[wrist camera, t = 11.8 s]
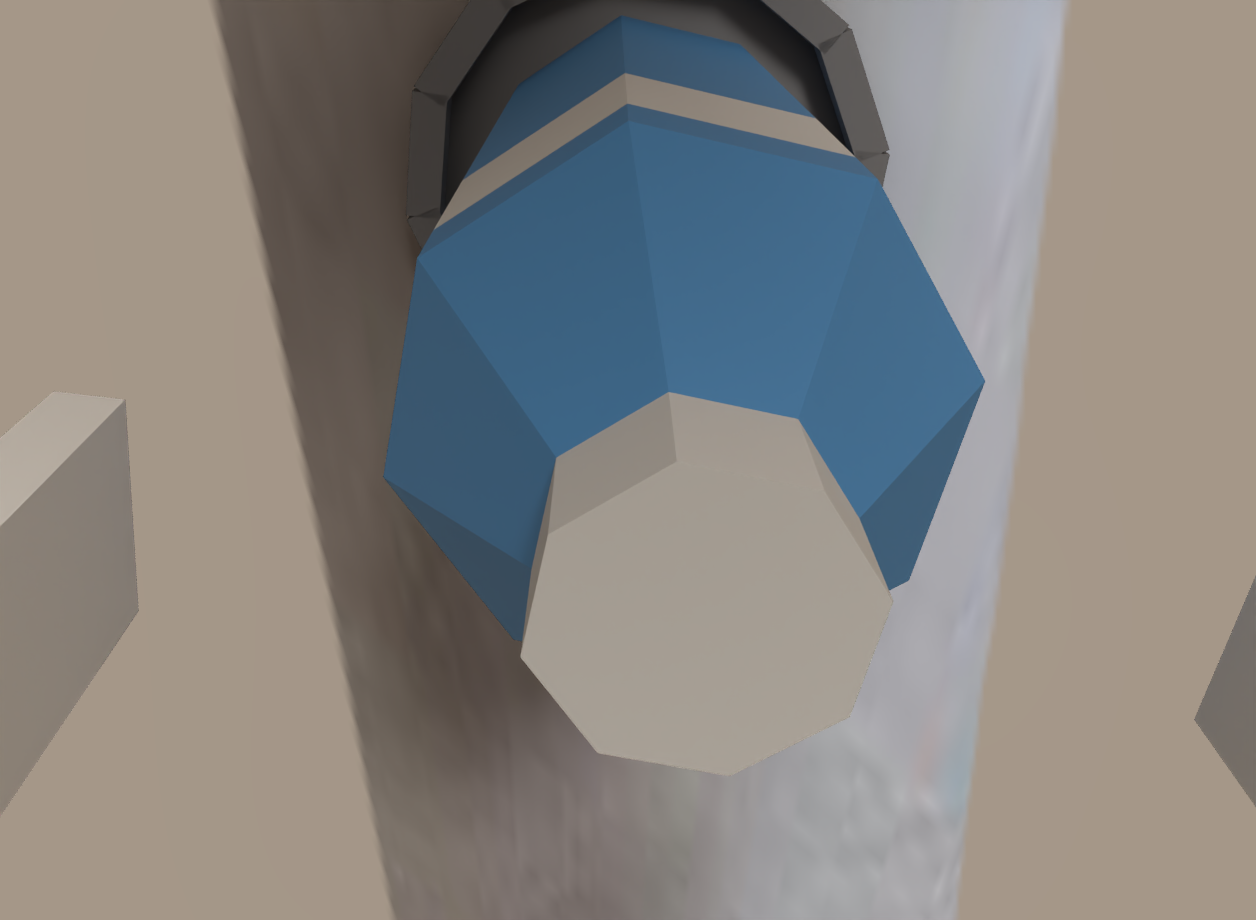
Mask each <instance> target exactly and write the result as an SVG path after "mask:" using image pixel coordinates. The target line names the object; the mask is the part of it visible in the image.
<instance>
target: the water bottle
mask: <svg viewBox="0 0 1256 920" xmlns="http://www.w3.org/2000/svg"><path fill="white" fill-rule="evenodd" d="M984 383H985V380H984V378H983V376H982V374H981V372H980V370H979V369H978V367H977V365H976V363H975V361H974V359H973V357H972V355H971V353H970V352H969V350H968V348H967V346H966V344H965V342H964V340H963V338H962V337H961V335H960V333H959V331H958V329H957V327H956V325H955V323H954V321H953V320H952V318H951V316H950V314H949V312H948V310H947V308H946V306H945V305H944V303H943V301H942V299H941V297H940V295H939V293H938V291H937V290H936V288H935V286H934V284H933V282H932V280H931V278H930V276H929V274H928V273H927V271H926V269H925V267H924V265H923V263H922V261H921V259H920V258H919V256H918V254H917V252H916V250H915V248H914V246H913V244H912V242H911V241H910V239H909V237H908V235H907V233H906V231H905V229H904V227H903V226H902V224H901V222H900V220H899V218H898V216H897V214H896V212H895V210H894V209H893V207H892V205H891V203H890V201H889V199H888V197H887V195H886V194H885V192H884V190H883V188H882V186H881V184H880V182H879V180H878V179H877V178H876V177H875V176H874V175H873V174H872V173H871V172H870V171H869V170H868V169H867V168H866V167H865V166H864V165H863V164H862V163H861V162H860V161H859V160H858V159H857V158H856V157H855V156H854V155H853V154H852V153H851V152H850V151H849V150H848V149H847V148H846V147H845V146H844V145H843V144H842V143H840V142H839V141H838V140H837V139H836V138H835V137H834V136H833V135H832V134H831V133H830V132H829V131H828V130H827V129H826V128H825V127H824V126H823V125H822V124H821V123H820V122H819V121H818V120H817V119H816V118H815V117H814V116H813V115H812V114H811V113H810V112H809V111H808V110H807V109H806V108H805V107H804V106H803V105H802V104H801V103H800V102H799V101H798V100H797V99H796V98H795V97H794V96H793V95H791V94H790V93H789V92H788V91H787V90H786V89H785V88H784V87H783V86H782V85H781V84H780V83H779V82H778V81H777V80H776V79H775V78H774V77H773V76H772V75H771V74H770V73H769V72H768V71H767V70H766V69H765V68H764V67H763V66H762V65H761V64H760V63H759V62H758V61H757V60H756V59H755V58H754V57H753V56H752V55H751V54H750V53H749V52H748V51H747V50H746V49H745V48H744V47H742V46H741V45H740V44H737V43H733V42H729V41H725V40H721V39H717V38H713V37H708V36H704V35H700V34H696V33H692V32H688V31H684V30H680V29H676V28H671V27H667V26H663V25H659V24H655V23H651V22H647V21H643V20H638V19H634V18H630V17H626V16H622V15H621V16H619V17H618V18H616V19H615V20H613V21H612V22H610V23H609V24H607V25H606V26H604V27H603V28H601V29H600V30H598V31H597V32H595V33H594V34H592V35H591V36H589V37H588V38H586V39H585V40H583V41H582V42H580V43H579V44H577V45H576V46H574V47H573V48H572V49H570V50H569V51H567V52H566V53H564V54H563V55H561V56H560V57H558V58H557V59H555V60H554V61H552V62H551V63H549V64H548V65H546V66H545V67H543V68H542V69H540V70H539V71H537V72H536V73H534V74H533V75H531V76H530V77H528V78H527V79H525V80H524V81H523V82H521V83H520V84H519V85H518V86H517V88H516V90H515V91H514V93H513V95H512V97H511V98H510V100H509V102H508V103H507V105H506V107H505V108H504V110H503V112H502V114H501V115H500V117H499V119H498V120H497V122H496V124H495V126H494V127H493V129H492V131H491V132H490V134H489V136H488V138H487V139H486V141H485V143H484V144H483V146H482V148H481V150H480V151H479V153H478V155H477V156H476V158H475V160H474V162H473V163H472V165H471V167H470V168H469V170H468V172H467V174H466V175H465V177H464V179H463V180H462V182H461V184H460V186H459V187H458V189H457V191H456V192H455V194H454V196H453V198H452V199H451V201H450V203H449V204H448V206H447V208H446V210H445V211H444V213H443V215H442V216H441V218H440V220H439V222H438V223H437V225H436V227H435V228H434V230H433V232H432V233H431V235H430V237H429V239H428V240H427V242H426V244H425V245H424V247H423V249H422V251H421V252H420V254H419V256H418V257H417V263H416V269H415V276H414V282H413V289H412V295H411V301H410V308H409V314H408V321H407V327H406V334H405V340H404V347H403V353H402V360H401V366H400V373H399V379H398V386H397V392H396V399H395V405H394V411H393V418H392V424H391V431H390V437H389V444H388V450H387V457H386V463H385V470H384V476H383V477H384V479H385V480H386V481H387V482H388V484H389V485H390V486H391V487H392V489H393V490H394V491H395V492H396V494H397V495H398V496H399V497H400V499H401V500H402V501H403V502H404V504H405V505H406V506H407V507H408V508H409V510H410V511H411V512H412V513H413V515H414V516H415V517H416V518H417V520H418V521H419V522H420V523H421V525H422V526H423V527H424V528H425V530H426V531H427V532H428V533H429V535H430V536H431V537H432V538H433V540H434V541H435V542H436V543H437V545H438V546H439V547H440V548H441V550H442V551H443V552H444V553H445V555H446V556H447V557H448V558H449V560H450V561H451V562H452V563H453V565H454V566H455V567H456V568H457V570H458V571H459V572H460V573H461V575H462V576H463V577H464V578H465V580H466V581H467V582H468V583H469V585H470V586H471V587H472V588H473V590H474V591H475V592H476V593H477V595H478V596H479V597H480V598H481V600H482V601H483V602H484V603H485V605H486V606H487V607H488V608H489V610H490V611H491V612H492V613H493V615H494V616H495V617H496V618H497V620H498V621H499V622H500V623H501V625H502V626H503V627H504V628H505V630H506V631H507V632H508V633H509V635H510V636H511V637H512V638H513V640H518V641H522V648H521V655H520V657H521V659H522V660H523V661H524V662H525V663H526V665H527V666H528V667H529V668H530V670H531V671H532V672H533V673H534V675H535V676H536V677H537V678H538V680H539V681H540V682H541V683H542V685H543V686H544V687H545V688H546V690H547V691H548V692H549V693H550V695H551V696H552V697H553V698H554V700H555V701H556V702H557V703H558V705H559V706H560V707H561V708H562V709H563V711H564V712H565V713H566V714H567V716H568V717H569V718H570V719H571V721H572V722H573V723H574V724H575V726H576V727H577V728H578V729H579V731H580V732H581V733H582V734H583V736H584V737H585V738H586V739H587V741H588V742H589V743H590V744H591V746H592V747H593V748H594V749H595V750H596V752H597V753H600V754H605V755H611V756H617V757H623V758H628V759H634V760H640V761H645V762H651V763H657V764H663V765H668V766H674V767H680V768H685V769H691V770H697V771H703V772H708V773H714V774H720V775H726V776H731V775H733V774H735V773H737V772H739V771H741V770H743V769H745V768H747V767H749V766H751V765H753V764H755V763H757V762H759V761H762V760H764V759H766V758H768V757H770V756H772V755H774V754H776V753H778V752H780V751H782V750H784V749H786V748H788V747H790V746H792V745H794V744H796V743H798V742H800V741H802V740H804V739H806V738H808V737H810V736H812V735H814V734H816V733H818V732H820V731H822V730H824V729H826V728H828V727H830V726H833V725H835V724H837V723H839V722H841V721H843V720H845V719H847V718H849V717H850V715H851V712H852V709H853V707H854V704H855V701H856V699H857V696H858V694H859V691H860V688H861V686H862V683H863V680H864V678H865V675H866V672H867V670H868V667H869V665H870V662H871V659H872V657H873V654H874V651H875V649H876V646H877V643H878V641H879V638H880V636H881V633H882V630H883V628H884V625H885V622H886V620H887V617H888V614H889V612H890V609H891V607H892V604H893V599H892V597H891V594H890V592H889V590H891V589H893V588H895V587H897V586H899V585H901V584H903V583H905V582H907V581H908V580H909V579H910V576H911V573H912V571H913V568H914V566H915V563H916V560H917V558H918V555H919V553H920V550H921V547H922V545H923V542H924V539H925V537H926V534H927V532H928V529H929V526H930V524H931V521H932V519H933V516H934V513H935V511H936V508H937V505H938V503H939V500H940V498H941V495H942V492H943V490H944V487H945V485H946V482H947V479H948V477H949V474H950V472H951V469H952V466H953V464H954V461H955V458H956V456H957V453H958V451H959V448H960V445H961V443H962V440H963V438H964V435H965V432H966V430H967V427H968V424H969V422H970V419H971V417H972V414H973V411H974V409H975V406H976V404H977V401H978V398H979V396H980V393H981V390H982V388H983V385H984Z"/></svg>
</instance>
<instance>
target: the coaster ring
mask: <svg viewBox="0 0 1256 920" xmlns="http://www.w3.org/2000/svg"><path fill="white" fill-rule="evenodd" d="M621 15H622V16H626V17H630V18H634V19H638V20H643V21H647V22H651V23H655V24H659V25H663V26H667V27H671V28H676V29H680V30H684V31H688V32H692V33H696V34H700V35H704V36H708V37H713V38H717V39H721V40H725V41H729V42H733V43H737V44H740V45H741V46H742V47H744V48H745V49H746V50H747V51H748V52H749V53H750V54H751V55H752V56H753V57H754V58H755V59H756V60H757V61H758V62H759V63H760V64H761V65H762V66H763V67H764V68H765V69H766V70H767V71H768V72H769V73H770V74H771V75H772V76H773V77H774V78H775V79H776V80H777V81H778V82H779V83H780V84H781V85H782V86H783V87H784V88H785V89H786V90H787V91H788V92H789V93H790V94H791V95H793V96H794V97H795V98H796V99H797V100H798V101H799V102H800V103H801V104H802V105H803V106H804V107H805V108H806V109H807V110H808V111H809V112H810V113H811V114H812V115H813V116H814V117H815V118H816V119H817V120H818V121H819V122H820V123H821V124H822V125H823V126H824V127H825V128H826V129H827V130H828V131H829V132H830V133H831V134H832V135H833V136H834V137H835V138H836V139H837V140H838V141H839V142H840V143H842V144H843V145H844V146H845V147H846V148H847V149H848V150H849V151H850V152H851V153H852V154H853V155H854V156H855V157H856V158H857V159H858V160H859V161H860V162H861V163H862V164H863V165H864V166H865V167H866V168H867V169H868V170H869V171H870V172H871V173H872V174H873V175H874V176H875V177H876V178H877V179H878V180H879V182H880V184H881V186H882V187H883V182H884V178H885V173H886V169H887V164H888V160H889V154H888V153H887V152H886V151H888V150H889V147H888V144H887V141H886V137H885V134H884V131H883V128H882V125H881V121H880V118H879V115H878V112H877V109H876V105H875V102H874V99H873V96H872V93H871V89H870V86H869V83H868V80H867V77H866V73H865V70H864V67H863V64H862V61H861V57H860V54H859V51H858V48H857V45H856V41H855V38H854V35H853V32H852V29H850V28H848V26H849V25H848V24H847V23H846V22H845V21H844V20H843V19H841V18H840V17H839V16H838V15H837V14H836V13H835V12H833V11H832V10H831V9H830V8H829V7H828V6H827V5H825V4H824V3H823V2H822V1H821V0H470V2H469V3H468V5H467V6H466V8H465V9H464V11H463V12H462V14H461V16H460V17H459V19H458V20H457V22H456V23H455V25H454V26H453V28H452V29H451V31H450V32H449V34H448V35H447V37H446V38H445V40H444V41H443V43H442V44H441V46H440V47H439V49H438V50H437V52H436V53H435V55H434V56H433V58H432V59H431V61H430V62H429V64H428V65H427V67H426V69H425V70H424V72H423V73H422V75H421V76H420V78H419V79H418V81H417V82H416V84H415V85H414V87H416V88H415V89H414V90H413V91H412V106H411V125H410V145H409V165H408V185H407V205H406V215H408V216H409V218H408V219H407V221H408V223H409V225H410V227H411V229H412V231H413V233H414V235H415V237H416V239H417V241H418V243H419V245H420V247H421V249H423V247H424V245H425V244H426V242H427V240H428V239H429V237H430V235H431V233H432V232H433V230H434V228H435V227H436V225H437V223H438V222H439V220H440V218H441V216H442V215H443V213H444V211H445V210H446V208H447V206H448V204H449V203H450V201H451V199H452V198H453V196H454V194H455V192H456V191H457V189H458V187H459V186H460V184H461V182H462V180H463V179H464V177H465V175H466V174H467V172H468V170H469V168H470V167H471V165H472V163H473V162H474V160H475V158H476V156H477V155H478V153H479V151H480V150H481V148H482V146H483V144H484V143H485V141H486V139H487V138H488V136H489V134H490V132H491V131H492V129H493V127H494V126H495V124H496V122H497V120H498V119H499V117H500V115H501V114H502V112H503V110H504V108H505V107H506V105H507V103H508V102H509V100H510V98H511V97H512V95H513V93H514V91H515V90H516V88H517V86H518V85H519V84H520V83H521V82H523V81H524V80H525V79H527V78H528V77H530V76H531V75H533V74H534V73H536V72H537V71H539V70H540V69H542V68H543V67H545V66H546V65H548V64H549V63H551V62H552V61H554V60H555V59H557V58H558V57H560V56H561V55H563V54H564V53H566V52H567V51H569V50H570V49H572V48H573V47H574V46H576V45H577V44H579V43H580V42H582V41H583V40H585V39H586V38H588V37H589V36H591V35H592V34H594V33H595V32H597V31H598V30H600V29H601V28H603V27H604V26H606V25H607V24H609V23H610V22H612V21H613V20H615V19H616V18H618V17H619V16H621Z"/></svg>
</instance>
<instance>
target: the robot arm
mask: <svg viewBox="0 0 1256 920" xmlns="http://www.w3.org/2000/svg"><path fill="white" fill-rule="evenodd" d="M136 581H137V579H136V563H135V547H134V531H133V516H132V500H131V483H130V467H129V451H128V435H127V419H126V404H125V399H117V398H108V397H100V396H91V395H81V394H74V393H64V392H56V391H53V392H52V393H51V394H50V395H48V396H47V397H46V398H45V399H44V400H43V401H42V402H40V403H39V404H38V405H37V406H36V407H35V408H34V409H32V411H30V412H29V413H28V414H27V415H26V416H24V417H23V418H22V419H21V420H20V421H19V422H18V423H16V424H15V425H14V426H13V427H12V428H11V429H10V430H8V431H7V432H6V433H5V434H4V435H3V436H1V437H0V816H1V814H2V813H3V812H4V810H5V808H6V807H7V806H8V804H9V803H10V801H11V800H12V798H13V797H14V795H15V794H16V792H17V791H18V789H19V788H20V786H21V785H22V783H23V782H24V780H25V779H26V777H27V776H28V774H29V773H30V771H31V770H32V769H33V767H34V766H35V764H36V762H37V761H38V760H39V758H40V757H41V755H42V754H43V752H44V751H45V749H46V748H47V746H48V745H49V743H50V742H51V740H52V739H53V737H54V736H55V734H56V733H57V731H58V730H59V728H60V727H61V725H62V724H63V722H64V721H65V719H66V718H67V717H68V715H69V713H70V712H71V711H72V709H73V708H74V706H75V705H76V703H77V702H78V700H79V699H80V697H81V696H82V694H83V693H84V691H85V690H86V688H87V687H88V685H89V684H90V682H91V681H92V679H93V678H94V676H95V675H96V673H97V672H98V670H99V669H100V667H101V666H102V664H103V663H104V661H105V660H106V658H107V657H108V656H109V654H110V653H111V651H112V650H113V648H114V647H115V645H116V644H117V642H118V641H119V639H120V637H121V636H122V635H123V633H124V632H125V630H126V629H127V627H128V626H129V624H130V622H131V621H132V620H133V618H134V617H135V615H136V614H137V612H138V596H137V582H136ZM1195 721H1196V723H1197V724H1198V726H1199V727H1200V728H1201V730H1202V731H1203V733H1204V734H1205V735H1206V737H1207V738H1208V740H1209V741H1210V742H1211V744H1212V745H1213V747H1214V748H1215V750H1216V751H1217V752H1218V754H1219V755H1220V757H1221V758H1222V760H1223V761H1224V762H1225V764H1226V765H1227V767H1228V768H1229V769H1230V771H1231V772H1232V774H1233V775H1234V776H1235V778H1236V779H1237V781H1238V782H1239V784H1240V785H1241V786H1242V788H1243V789H1244V791H1245V792H1246V794H1247V795H1248V796H1249V798H1250V799H1251V801H1252V802H1253V803H1254V805H1255V806H1256V577H1255V579H1254V581H1253V584H1252V586H1251V588H1250V591H1249V593H1248V595H1247V598H1246V600H1245V602H1244V605H1243V607H1242V609H1241V612H1240V614H1239V616H1238V619H1237V621H1236V623H1235V626H1234V628H1233V630H1232V633H1231V635H1230V637H1229V640H1228V642H1227V644H1226V647H1225V650H1224V651H1223V654H1222V656H1221V658H1220V661H1219V663H1218V666H1217V668H1216V670H1215V672H1214V675H1213V677H1212V679H1211V682H1210V684H1209V686H1208V689H1207V691H1206V694H1205V696H1204V698H1203V700H1202V703H1201V705H1200V708H1199V710H1198V712H1197V715H1196V717H1195Z"/></svg>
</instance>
